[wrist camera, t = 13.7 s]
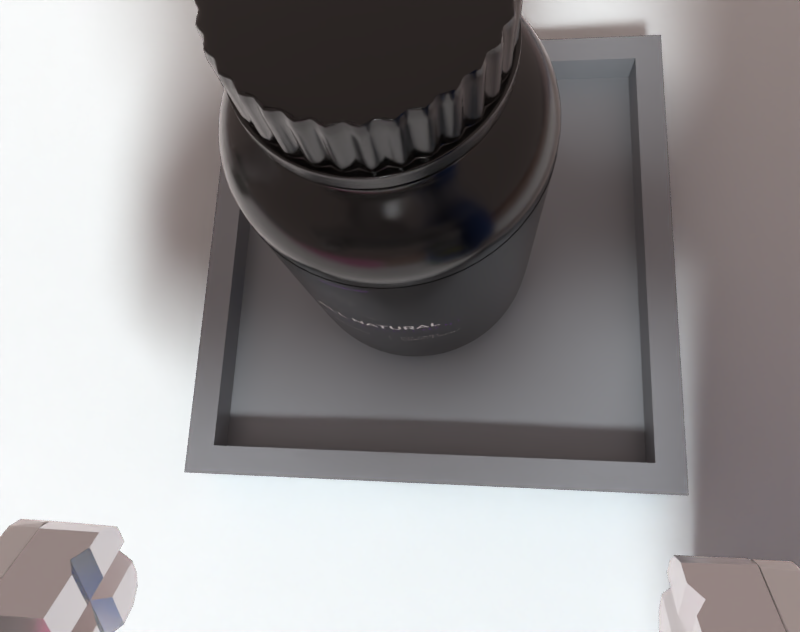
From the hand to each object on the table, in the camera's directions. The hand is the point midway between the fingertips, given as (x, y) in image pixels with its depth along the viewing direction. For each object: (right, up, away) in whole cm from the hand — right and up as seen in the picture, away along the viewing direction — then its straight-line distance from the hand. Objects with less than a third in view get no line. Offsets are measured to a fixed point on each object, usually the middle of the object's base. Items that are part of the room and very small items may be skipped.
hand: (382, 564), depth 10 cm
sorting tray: (+1, +5, +12) cm, 13 cm away
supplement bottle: (+1, +6, +11) cm, 13 cm away
